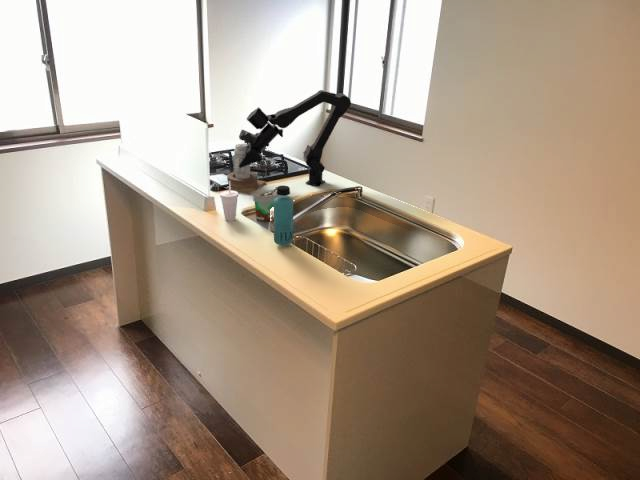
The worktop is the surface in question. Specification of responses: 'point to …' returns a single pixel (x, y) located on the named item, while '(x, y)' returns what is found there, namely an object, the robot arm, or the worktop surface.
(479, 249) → the worktop surface
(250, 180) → the brown round bowl
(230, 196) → the smoothie
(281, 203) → the beverage bottle
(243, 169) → the energy drink can
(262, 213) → the food container
